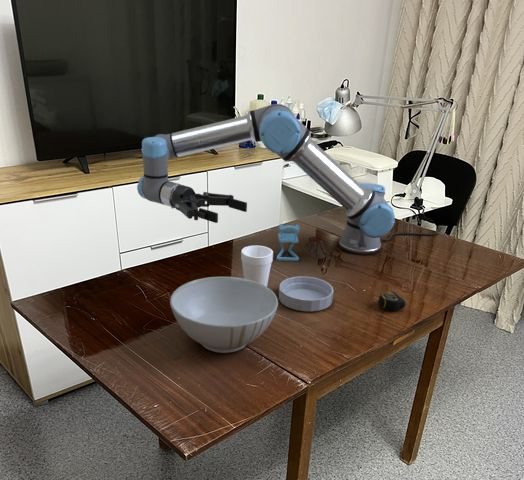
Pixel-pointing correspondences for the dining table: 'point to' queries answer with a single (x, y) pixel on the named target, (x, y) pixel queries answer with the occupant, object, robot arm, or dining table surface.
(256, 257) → the foam cup
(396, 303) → the tape measure
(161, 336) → the dining table surface
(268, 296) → the decorative bowl
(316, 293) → the white plant saucer
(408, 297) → the dining table surface
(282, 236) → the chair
